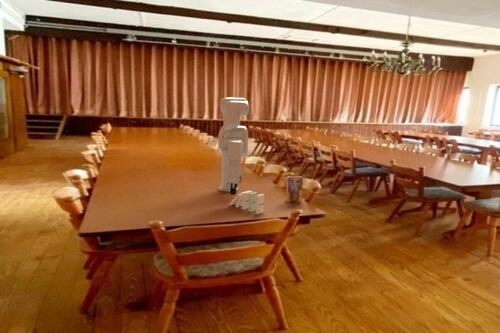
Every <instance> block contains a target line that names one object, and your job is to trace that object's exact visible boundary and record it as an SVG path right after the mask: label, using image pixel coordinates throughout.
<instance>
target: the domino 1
mask: <svg viewBox="0 0 500 333" xmlns="http://www.w3.org/2000/svg"><path fill="white" fill-rule="evenodd" d="M241 193H242V192H240V193H238V194H236V196H235V197H234V198H233V199H232V200H230V202H229V203H228V205H229V206H231V207H232V206H235V205H236V203H237V201H238V199H239V197H240V195H241Z"/></svg>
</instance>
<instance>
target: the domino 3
mask: <svg viewBox="0 0 500 333" xmlns="http://www.w3.org/2000/svg"><path fill="white" fill-rule="evenodd" d="M243 192H244V196H243V202H242V207H240V208H241V210H243V211H244V210H248V207H249V193H253V190H247V191H246V192H245V191H243Z"/></svg>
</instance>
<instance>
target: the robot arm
mask: <svg viewBox="0 0 500 333" xmlns="http://www.w3.org/2000/svg"><path fill="white" fill-rule="evenodd" d="M219 108H220V112H221V114H222V118H223V122H222V123H223V125H222V126H221V128H220V129H219V132H218V138H217V139H218V140H217V144H218V149H219V151H220V153H221V185H220V186H219V187H218V190H219V191H221V192H229V194H230V196H231V195H232V196H234V195H237V191H239V186H240V187H241V186H242V182H243V169H242V167H243V166H242V165H241V164H242V158H246V157H247V156H248V154H249V133H248V132H249V130H248V128H247V127H246V126H245V125H240V124H241V121H240V119H241V118H240V116H248V115H249V113H250V103H249V101H248V99H247V98H245V97H231V96H229V97H222V98H221V99H220V100H219Z"/></svg>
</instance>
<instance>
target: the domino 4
mask: <svg viewBox="0 0 500 333" xmlns="http://www.w3.org/2000/svg"><path fill="white" fill-rule="evenodd" d="M264 212H265V194H264V193H260V194H257V195H256V210H255V214H256V215H259V214H263V213H264Z"/></svg>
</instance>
